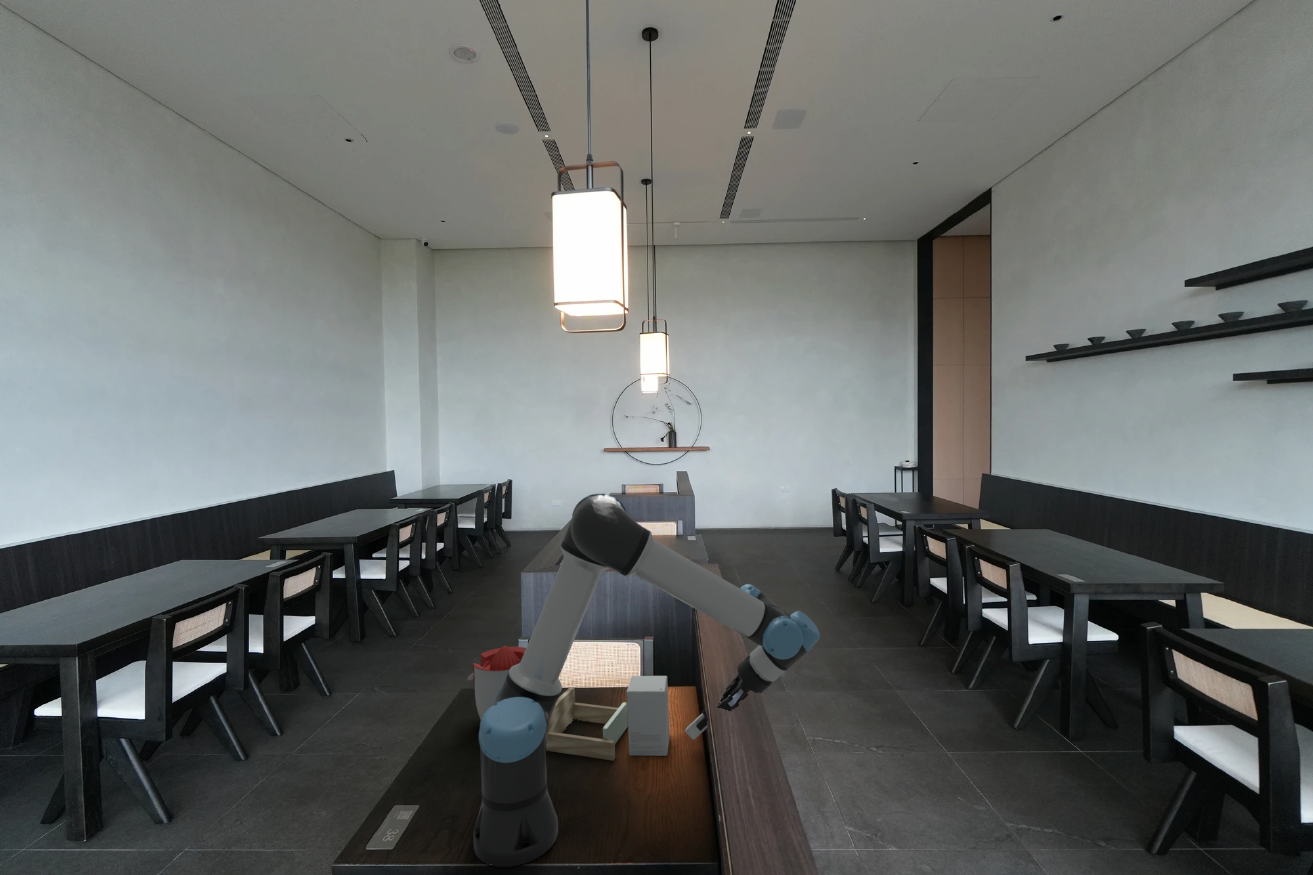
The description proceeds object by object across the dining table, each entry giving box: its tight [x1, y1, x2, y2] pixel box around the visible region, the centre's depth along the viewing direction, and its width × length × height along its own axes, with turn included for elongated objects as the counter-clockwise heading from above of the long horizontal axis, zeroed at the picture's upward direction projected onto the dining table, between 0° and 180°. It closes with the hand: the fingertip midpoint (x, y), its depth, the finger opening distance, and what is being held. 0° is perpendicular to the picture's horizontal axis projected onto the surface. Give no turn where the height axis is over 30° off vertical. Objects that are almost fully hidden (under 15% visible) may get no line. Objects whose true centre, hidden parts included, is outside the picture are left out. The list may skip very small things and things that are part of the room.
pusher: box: [602, 701, 628, 745], centre depth 141 cm, size 13×1×6 cm, turn 162°
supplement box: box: [625, 675, 671, 757], centre depth 138 cm, size 9×9×15 cm
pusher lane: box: [546, 686, 628, 761], centre depth 143 cm, size 16×18×8 cm
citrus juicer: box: [467, 645, 527, 721], centre depth 151 cm, size 16×17×20 cm
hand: (690, 733), depth 135 cm, fingers closed
